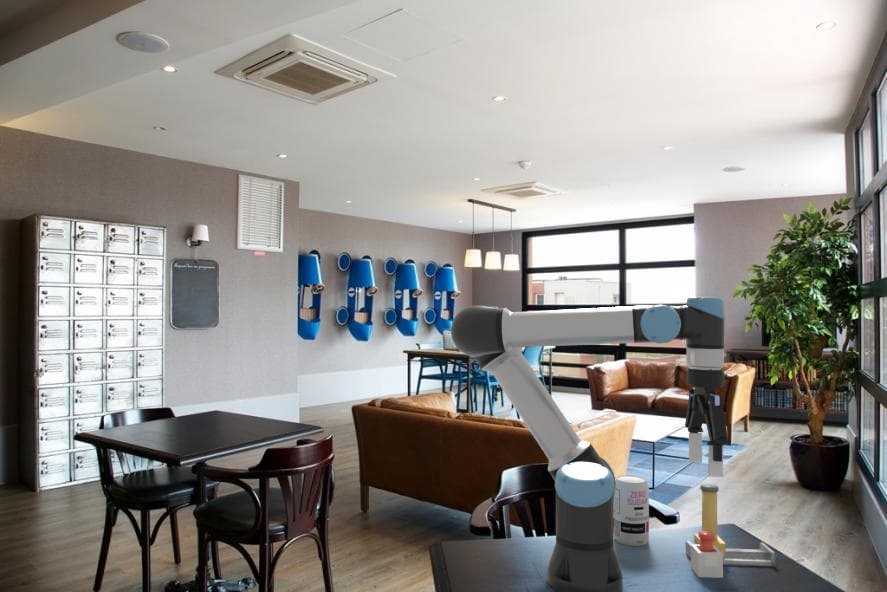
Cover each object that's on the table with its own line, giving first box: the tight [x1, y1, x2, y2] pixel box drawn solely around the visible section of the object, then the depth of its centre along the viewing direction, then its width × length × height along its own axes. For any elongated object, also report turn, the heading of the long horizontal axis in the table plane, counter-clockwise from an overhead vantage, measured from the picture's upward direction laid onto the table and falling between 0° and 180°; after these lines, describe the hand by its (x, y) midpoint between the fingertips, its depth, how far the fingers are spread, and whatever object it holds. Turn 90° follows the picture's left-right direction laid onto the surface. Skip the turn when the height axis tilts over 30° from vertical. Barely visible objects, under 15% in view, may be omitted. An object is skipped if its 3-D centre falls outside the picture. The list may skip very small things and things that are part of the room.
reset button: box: [697, 530, 715, 552], centre depth 134 cm, size 3×3×5 cm
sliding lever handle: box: [693, 483, 727, 557], centre depth 141 cm, size 5×6×15 cm
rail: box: [685, 540, 776, 567], centre depth 141 cm, size 17×6×3 cm, turn 86°
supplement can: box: [613, 474, 650, 547], centre depth 152 cm, size 8×8×15 cm
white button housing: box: [690, 543, 724, 579], centre depth 134 cm, size 5×5×5 cm
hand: (705, 469), depth 135 cm, fingers open, 11 cm apart
